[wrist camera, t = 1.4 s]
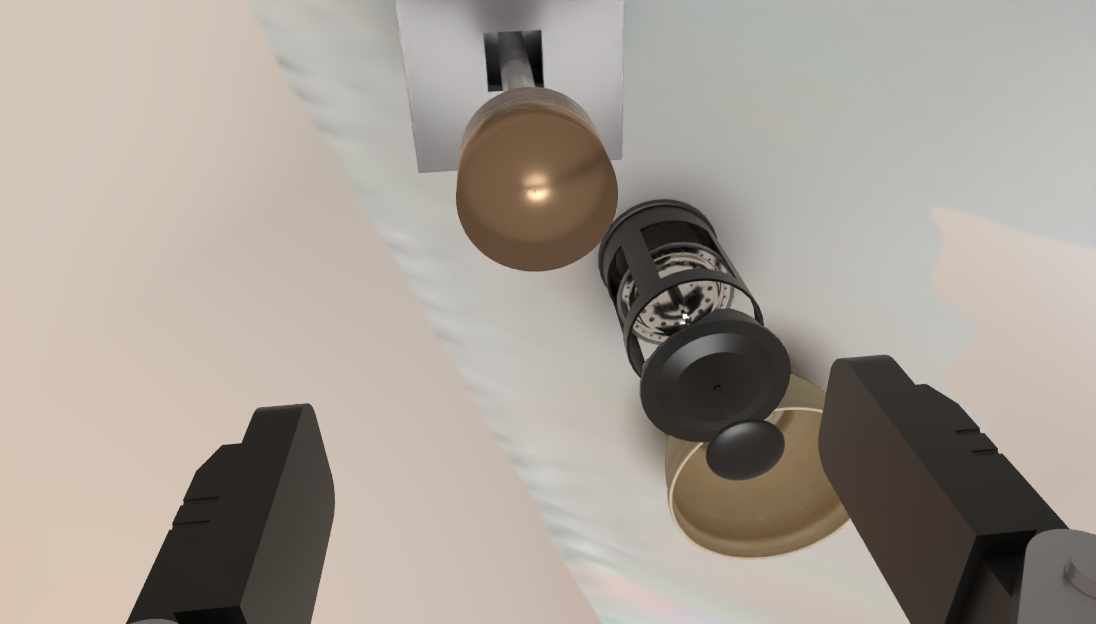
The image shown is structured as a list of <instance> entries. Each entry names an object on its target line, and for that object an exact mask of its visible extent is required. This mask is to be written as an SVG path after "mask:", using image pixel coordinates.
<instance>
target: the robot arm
mask: <svg viewBox="0 0 1096 624" xmlns="http://www.w3.org/2000/svg"><path fill="white" fill-rule="evenodd" d="M818 449H819V456H820V460H821V464H822V467H823V470H824V472H825V474H826V476H827V478H828V480H829V482H830V483H831V485H832V487H833V489H834V490H835V492H836V494H837V496H838V497H839V499H840V501H841V503H842V504H843V506H844V508H845V510H846V511H847V513H848V515H849V517H850V518H851V520H852V522H853V524H854V525H855V527H856V529H857V531H858V532H859V534H860V536H861V538H862V539H863V541H864V543H865V545H866V546H867V548H868V550H869V552H870V553H871V555H872V557H873V559H874V560H875V562H876V564H877V566H878V567H879V569H880V571H881V573H882V574H883V576H884V578H885V580H886V581H887V583H888V585H889V587H890V588H891V590H892V592H893V594H894V595H895V597H896V599H897V601H898V602H899V604H900V606H901V608H902V610H903V611H904V613H905V615H906V617H907V618H908V620H909V622H910V624H1096V535H1095V534H1091V533H1087V532H1084V531H1078V530H1072V529H1069V528H1068V527H1067V526H1066V525H1065V523H1064V522H1063V521H1062V520H1061V519H1060V518H1059V517H1058V515H1057V514H1056V513H1055V512H1054V511H1053V510H1052V509H1051V508H1050V506H1049V505H1048V504H1047V503H1046V502H1045V501H1044V500H1043V499H1042V497H1040V495H1039V494H1038V493H1037V492H1036V491H1035V490H1034V489H1033V488H1032V486H1031V485H1030V484H1029V483H1028V482H1027V481H1026V480H1025V478H1024V477H1023V476H1022V475H1021V474H1020V473H1019V472H1018V471H1017V470H1016V468H1015V467H1014V466H1013V465H1012V464H1011V463H1010V462H1009V461H1008V459H1007V458H1006V457H1005V456H1004V455H1003V454H999V453H998V448H997V447H996V446H995V445H994V444H993V442H992V441H991V440H990V439H989V438H988V437H987V436H986V435H985V433H980V428H979V427H978V426H977V425H976V423H975V422H974V421H973V420H972V419H971V418H970V417H969V416H968V414H967V413H966V412H965V411H964V410H963V409H962V408H961V407H960V405H959V404H958V403H956V402H954V401H953V400H951V399H950V398H948V397H946V396H945V395H943V394H941V393H940V392H938V391H937V390H935V389H933V388H932V387H930V386H929V385H927V384H920V385H915V384H914V383H913V381H912V380H911V379H910V378H909V377H908V375H907V374H906V373H905V372H904V371H903V369H902V368H901V367H900V366H899V365H898V364H897V362H896V361H895V360H894V359H893V358H892V357H890V356H888V355H875V356H864V357H852V358H841V359H837V360H836V361H835V362H834V363H833V365H832V367H831V371H830V376H829V381H828V386H827V392H826V397H825V402H824V408H823V413H822V418H821V424H820V429H819V435H818ZM183 501H184V504H183V505H181V506H180V508H179V510H178V512H177V515H176V516H175V519H174V521H173V523H172V525H173V528H172V530H169V532H168V534H167V536H166V538H165V540H164V543H163V545H162V547H161V549H160V551H159V554H158V556H157V558H156V560H155V562H154V564H153V566H152V569H151V571H150V573H149V575H148V578H147V579H146V582H145V584H144V587H143V588H142V590H141V592H140V595H139V597H138V599H137V601H136V603H135V606H134V608H133V610H132V612H131V614H130V616H129V618H128V621H127V622H126V624H311V619H312V614H313V610H314V605H315V601H316V596H317V592H318V587H319V583H320V578H321V574H322V568H323V564H324V560H325V555H326V550H327V546H328V541H329V537H330V532H331V527H332V523H333V517H334V508H335V494H334V484H333V479H332V474H331V470H330V467H329V463H328V459H327V455H326V452H325V448H324V444H323V441H322V437H321V433H320V429H319V426H318V422H317V419H316V415H315V412H314V409H313V407H312V406H311V405H310V404H309V403H307V404H295V405H284V406H272V407H261V408H258V409H256V411H255V412H254V414H253V416H252V419H251V421H250V423H249V426H248V428H247V431H246V433H245V436H244V438H243V441H242V443H239V444H229V445H222V446H221V447H220V448H219V449H218V450H217V451H216V452H215V453H214V454H213V455H212V456H211V457H210V458H209V459H208V460H207V461H206V462H205V463H204V464H203V465H202V466H201V467H200V468H199V469H198V470H197V471H196V473H195V475H194V477H193V480H192V482H191V484H190V486H189V488H188V490H187V493H186V495H185V497H184V499H183Z"/></svg>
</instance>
